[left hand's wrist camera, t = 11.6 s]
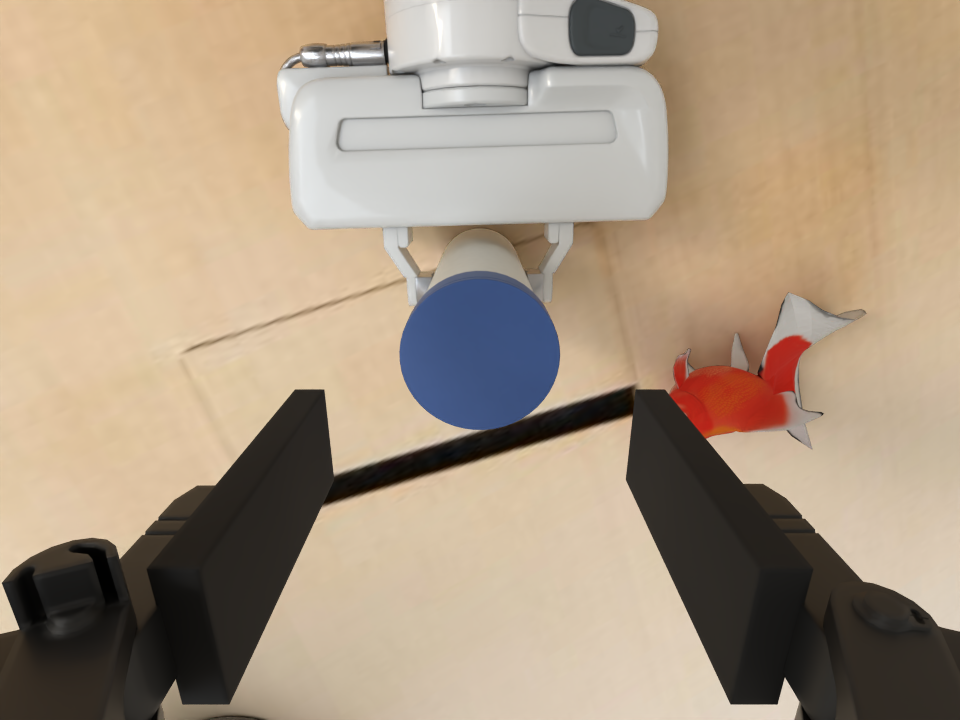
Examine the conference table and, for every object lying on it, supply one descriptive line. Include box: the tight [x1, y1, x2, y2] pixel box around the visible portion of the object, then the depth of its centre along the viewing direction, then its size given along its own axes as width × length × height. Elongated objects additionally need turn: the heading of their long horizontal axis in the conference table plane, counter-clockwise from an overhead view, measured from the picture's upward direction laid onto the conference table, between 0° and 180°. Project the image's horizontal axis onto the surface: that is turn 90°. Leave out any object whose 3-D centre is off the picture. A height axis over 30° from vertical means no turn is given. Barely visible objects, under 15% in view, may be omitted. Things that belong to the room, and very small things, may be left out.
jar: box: [427, 228, 533, 291], centre depth 29 cm, size 6×6×18 cm
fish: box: [669, 292, 866, 449], centre depth 36 cm, size 11×16×10 cm
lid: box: [400, 271, 560, 430], centre depth 21 cm, size 6×6×2 cm
